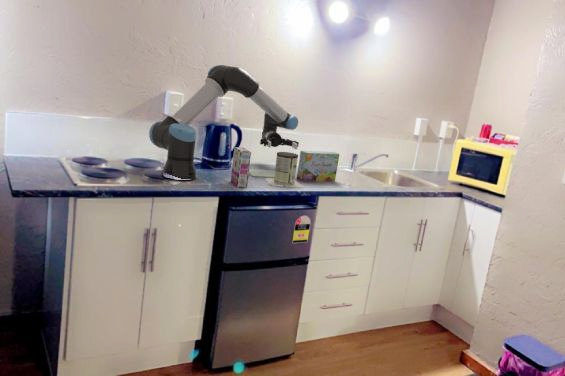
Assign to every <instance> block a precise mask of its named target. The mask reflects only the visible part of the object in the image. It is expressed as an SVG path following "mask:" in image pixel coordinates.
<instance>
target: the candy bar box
mask: <svg viewBox="0 0 565 376" xmlns="http://www.w3.org/2000/svg"><path fill="white" fill-rule="evenodd" d="M251 155H252V152H251V151H250V150H248V149H247V148H245V147H239V146H237V147H234V148H233V157H232V163H231V164H232V166H231V175H230V183H231V184H232V185H233V186H235V187H236V188H237V189H239V188H240V189H246V188H248V180H249V169H250V163H251Z"/></svg>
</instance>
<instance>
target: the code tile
mask: <svg viewBox="0 0 565 376" xmlns="http://www.w3.org/2000/svg"><path fill="white" fill-rule="evenodd" d="M264 179H265V180H266V181H267V183H269V184H270V185H271V186H272V187H283V186H286V187H285V188H299V189H300V188H301V189H302V188H305V187H304V186H303V185H302V184H301V183H300V182H299V181H298V180H297V179H295V184H293V185H283V184H278V183H275V182H274V178H264ZM278 185H280V186H278ZM281 185H282V186H281Z"/></svg>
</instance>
